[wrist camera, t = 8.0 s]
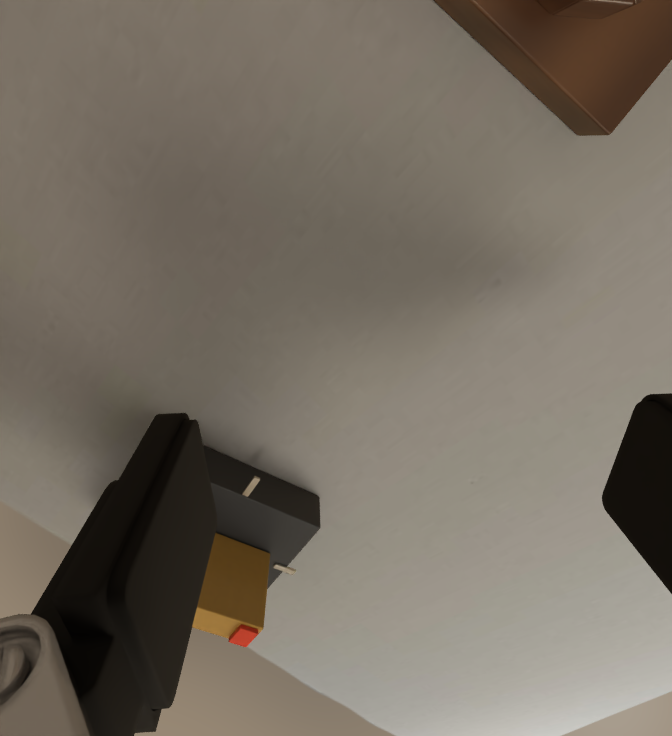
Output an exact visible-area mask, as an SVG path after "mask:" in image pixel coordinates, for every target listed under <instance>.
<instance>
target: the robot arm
mask: <svg viewBox="0 0 672 736" xmlns="http://www.w3.org/2000/svg"><path fill="white" fill-rule="evenodd" d="M602 502H603V506H604V508H605V510H606V511H607V513H608V514H609V515H610V517H611V518H612V519H613V520H614V522H615V523H616V524H617V526H618V527H619V528H620V529H621V531H622V532H623V533H624V534H625V536H626V537H627V538H628V539H629V541H630V542H631V543H632V544H633V546H634V547H635V548H636V549H637V551H638V552H639V553H640V555H641V556H642V557H643V558H644V560H645V561H646V562H647V563H648V565H649V566H650V567H651V568H652V570H653V571H654V572H655V573H656V575H657V576H658V577H659V579H660V580H661V581H662V582H663V584H664V585H665V586H666V587H667V589H668V590H669V591H670V592H671V594H672V394H650V395H647V396H646V397H644V398H643V399H642V401H641V402H639V403H638V404H637V405H636V406H635V408H634V411H633V413H632V416H631V419H630V421H629V424H628V427H627V430H626V432H625V435H624V438H623V440H622V443H621V446H620V448H619V451H618V454H617V456H616V459H615V462H614V465H613V467H612V470H611V473H610V475H609V478H608V481H607V483H606V486H605V489H604V491H603V495H602ZM216 527H217V513H216V507H215V503H214V498H213V493H212V488H211V483H210V478H209V473H208V468H207V463H206V458H205V453H204V448H203V444H202V439H201V434H200V429H199V424H198V422H197V420H189V417H188V415H187V414H186V413H174V414H158V415H156V416H155V417H154V419H153V421H152V422H151V424H150V426H149V428H148V429H147V431H146V433H145V435H144V436H143V438H142V440H141V442H140V443H139V445H138V447H137V449H136V450H135V452H134V454H133V456H132V457H131V459H130V461H129V463H128V464H127V466H126V468H125V470H124V471H123V473H122V475H121V477H120V478H119V480H115V481H113V482H111V483H110V484H109V485H108V486H107V488H106V489H105V490H104V492H103V494H102V496H101V497H100V499H99V501H98V502H97V504H96V506H95V507H94V509H93V511H92V512H91V514H90V516H89V517H88V519H87V521H86V522H85V524H84V526H83V527H82V529H81V531H80V532H79V534H78V536H77V538H76V539H75V541H74V543H73V544H72V546H71V548H70V549H69V551H68V553H67V554H66V556H65V558H64V559H63V561H62V563H61V564H60V566H59V568H58V570H57V571H56V573H55V575H54V576H53V578H52V580H51V581H50V583H49V585H48V586H47V588H46V590H45V592H44V593H43V595H42V596H41V598H40V600H39V601H38V603H37V605H36V607H35V608H34V610H33V611H32V613H31V615H27V614H18V615H14V616H10V617H6V618H2V619H0V736H134V734H135V733H140V732H155V731H156V728H157V724H158V721H159V717H160V713H161V709H164V708H169V707H170V706H171V705H172V703H173V701H174V697H175V694H176V690H177V686H178V682H179V677H180V674H181V670H182V666H183V662H184V658H185V654H186V650H187V646H188V641H189V638H190V634H191V629H192V625H193V621H194V617H195V613H196V609H197V605H198V601H199V597H200V593H201V589H202V585H203V581H204V577H205V573H206V569H207V565H208V561H209V557H210V553H211V549H212V545H213V541H214V537H215V533H216Z"/></svg>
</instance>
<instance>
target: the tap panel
mask: <svg viewBox="0 0 672 736" xmlns="http://www.w3.org/2000/svg"><path fill="white" fill-rule="evenodd" d="M203 448H204V453H205V458H206V463H207V468H208V473H209V478H210V483H211V488H212V493H213V498H214V503H215V507H216V513H217V527H216V533H218V534H221V535H223V536H226V537H228V538H231V539H234V540H236V541H239V542H241V543H244V544H247V545H249V546H252V547H254V548H257V549H260V550H262V551H265V552H267V553H270V563H269V573H268V584H267V589H268V588H269V586H270V585H271V584H272V583H273V582H274V581H275V580H276V578H277V577H278V576H279V575H280V574H281V573H282V572H286V573H289V574H291V575H293V574H294V573H295V572H296V570H295V569H293V568H290V567H287V566H288V565H289V563H290V562H291V561H292V560H293V559H294V558H295V557H296V555H297V554H298V553H299V552H300V551H301V550H302V548H303V547H304V546H305V545H306V544H307V543H308V542H309V540H310V539H311V538H312V537H313V536H314V535H315V533H316V532H317V531H318V530H319V529H320V502H319V497H318V496H316V495H314V494H312V493H309V492H307V491H305V490H302V489H300V488H298V487H296V486H293V485H291V484H289V483H287V482H284V481H282V480H280V479H277V478H275V477H273V476H271V475H268V474H266V473H264V472H262V471H259V470H257V469H255V468H252V467H250V466H248V465H246V464H243V463H241V462H239V461H237V460H234V459H232V458H230V457H227V456H225V455H223V454H221V453H218V452H216V451H214V450H212V449H209V448H207V447H205V446H203Z"/></svg>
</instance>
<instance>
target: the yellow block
mask: <svg viewBox="0 0 672 736" xmlns="http://www.w3.org/2000/svg"><path fill="white" fill-rule="evenodd" d="M269 563H270V553H267V552H265V551H262V550H260V549H257V548H254V547H252V546H249V545H247V544H244V543H241V542H239V541H236V540H234V539H231V538H228V537H226V536H223V535H221V534H218V533H215V537H214V541H213V545H212V549H211V553H210V557H209V561H208V565H207V569H206V573H205V577H204V581H203V585H202V589H201V593H200V597H199V601H198V605H197V609H196V613H195V617H194V621H193V625H192V627H193V628H196V629H199V630H203V631H206V632H210V633H212V634H216V635H219V636H223V637H225V638H229V642H231V643H234V644H237V645H240V646H243V647H247V646H248V645H249V644H250V642H251V641H252V640H253V639H254V638H255V637H256V636H257V635H258V634H259V633H260V632H261V631H262V630H263V627H264V616H265V605H266V595H267V584H268V573H269Z"/></svg>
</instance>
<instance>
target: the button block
mask: <svg viewBox="0 0 672 736" xmlns="http://www.w3.org/2000/svg"><path fill="white" fill-rule="evenodd" d="M434 1H435V2H436V3H437V4H438V5H439V6H440V7H441V8H443V9H444V10H445V11H446V12H447V13H448V14H449V15H450V16H451V17H452V18H453V19H454V20H455V21H456V22H457V23H459V24H460V25H461V26H462V27H463V28H464V29H465V30H466V31H467V32H468V33H469V34H470V35H471V36H472V37H473V38H475V39H476V40H477V41H478V42H479V43H480V44H481V45H482V46H483V47H484V48H485V49H486V50H487V51H488V52H489V53H491V54H492V55H493V56H494V57H495V58H496V59H497V60H498V61H499V62H500V63H501V64H502V65H503V66H504V67H505V68H507V69H508V70H509V71H510V72H511V73H512V74H513V75H514V76H515V77H516V78H517V79H518V80H519V81H520V82H521V83H523V84H524V85H525V86H526V87H527V88H528V89H529V90H530V91H531V92H532V93H533V94H534V95H535V96H536V97H537V98H539V99H540V100H541V101H542V102H543V103H544V104H545V105H546V106H547V107H548V108H549V109H550V110H551V111H552V112H553V113H555V114H556V115H557V116H558V117H559V118H560V119H561V120H562V121H563V122H564V123H565V124H566V125H567V126H568V127H569V128H570V129H572V130H573V131H574V132H575V133H576V134H577V135H579V136H587V135H610V134H611V133H612V132H613V130H614V129H615V128H616V127H617V125H618V124H619V123H620V122H621V121H622V119H623V118H624V117H625V116H626V115H627V113H628V112H629V111H630V110H631V108H632V107H633V106H634V105H635V104H636V102H637V101H638V100H639V99H640V97H641V96H642V95H643V94H644V93H645V91H646V90H647V89H648V88H649V86H650V85H651V84H652V83H653V82H654V80H655V79H656V78H657V77H658V76H659V74H660V73H661V72H662V71H663V69H664V68H665V67H666V66H667V65H668V63H669V62H670V61H671V60H672V0H434Z"/></svg>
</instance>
